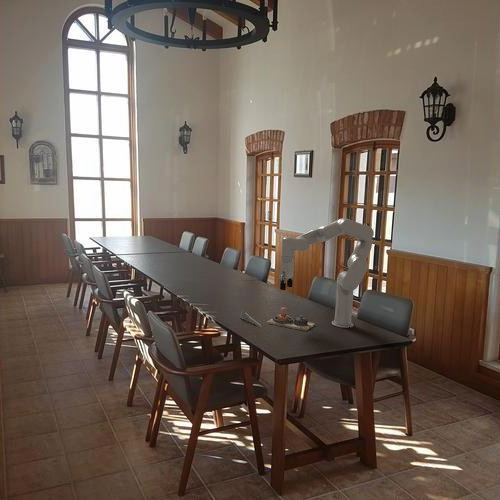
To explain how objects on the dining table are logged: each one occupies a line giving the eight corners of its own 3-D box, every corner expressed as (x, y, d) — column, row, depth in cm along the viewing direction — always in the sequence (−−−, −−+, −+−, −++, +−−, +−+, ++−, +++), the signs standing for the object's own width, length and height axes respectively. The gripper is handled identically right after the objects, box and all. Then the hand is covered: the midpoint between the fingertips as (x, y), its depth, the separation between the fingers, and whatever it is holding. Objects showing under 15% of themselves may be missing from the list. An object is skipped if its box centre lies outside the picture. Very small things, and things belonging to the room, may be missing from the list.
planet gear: (280, 318, 290) (280, 306, 289) (290, 320, 286) (291, 307, 285) (275, 321, 284) (276, 308, 282) (286, 323, 280) (287, 310, 279)
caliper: (240, 319, 289) (240, 308, 288) (241, 318, 290) (242, 308, 289) (261, 328, 273) (261, 317, 272) (262, 328, 274) (263, 317, 273)
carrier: (277, 318, 294) (277, 307, 294) (314, 325, 283) (315, 314, 283) (266, 323, 282) (267, 312, 281) (305, 331, 271) (306, 320, 270)
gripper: (287, 256, 289) (286, 285, 292) (275, 260, 274) (273, 290, 277) (299, 257, 286) (298, 286, 288) (287, 261, 271) (286, 291, 273)
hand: (286, 288), depth 282 cm, fingers open, 9 cm apart
